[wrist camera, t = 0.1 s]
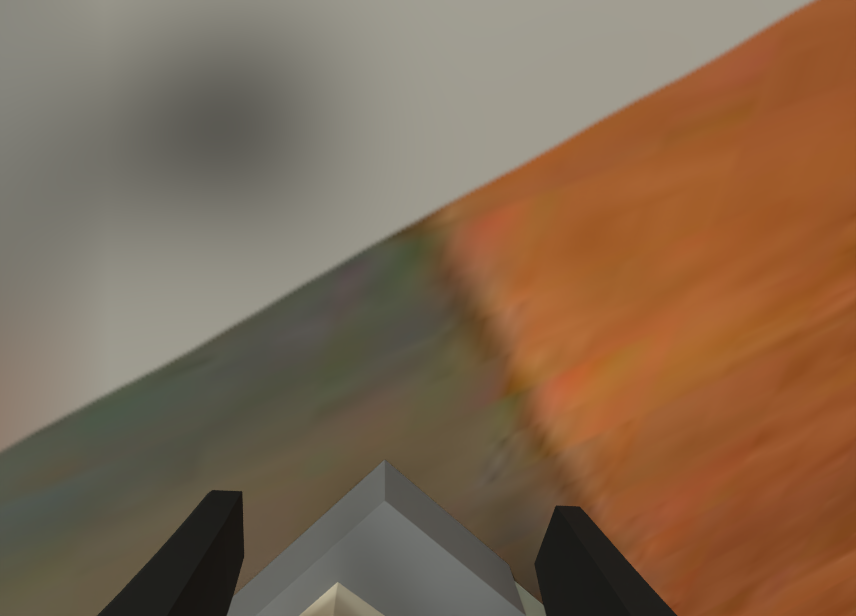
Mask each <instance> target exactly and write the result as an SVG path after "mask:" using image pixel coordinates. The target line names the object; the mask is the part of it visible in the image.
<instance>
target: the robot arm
mask: <svg viewBox="0 0 856 616" xmlns="http://www.w3.org/2000/svg"><path fill="white" fill-rule="evenodd" d="M243 559H244V534H243V500H242V491H220V490H212V491H211V492H209V493H208V494H207V495H206V496H205V497H204V499H203V500H202V501H201V502H200V503H199V505H198V506H197V507H196V508H195V509H194V511H193V512H192V513H191V514H190V515H189V517H188V518H187V519H186V520H185V521H184V522H183V524H182V525H181V526H180V527H179V528H178V529H177V530H176V532H175V533H174V534H173V535H172V536H171V537H170V538H169V540H168V541H167V542H166V543H165V544H164V545H163V546H162V547H161V549H160V550H159V551H158V552H157V553H156V554H155V555H154V556H153V557H152V558H151V560H150V561H149V562H148V563H147V564H146V565H145V566H144V567H143V568H142V569H141V570H140V571H139V572H138V573H137V575H136V576H135V577H134V578H133V579H132V580H131V581H130V582H129V583H128V584H127V585H126V586H125V587H124V589H123V590H122V591H121V592H120V593H119V594H118V595H117V596H116V597H115V598H114V599H113V600H112V601H111V602H110V603H109V604H108V605H107V606H106V607H105V608H104V609H103V610H102V611H101V612H100V613H99V614H98V615H97V616H227V614H228V611H229V608H230V604H231V601H232V597H233V594H234V591H235V587H236V584H237V580H238V577H239V573H240V569H241V566H242V562H243ZM535 568H536V573H537V578H538V583H539V587H540V592H541V596H542V600H543V605H544V609H545V613H546V616H677V615H676V614H675V613H674V612H673V611H672V609H671V608H670V607H669V606H668V605H667V604H666V603H665V602H664V601H663V600H662V599H661V598H660V597H659V595H658V594H657V593H656V592H655V591H654V590H653V589H652V588H651V587H650V586H649V584H648V583H647V582H646V581H645V580H644V579H643V578H642V577H641V576H640V574H639V573H638V572H637V571H636V570H635V569H634V568H633V567H632V565H631V564H630V563H629V562H628V561H627V560H626V559H625V557H624V556H623V555H622V554H621V553H620V552H619V551H618V549H617V548H616V547H615V546H614V545H613V544H612V543H611V541H610V540H609V539H608V538H607V537H606V536H605V535H604V533H603V532H602V531H601V530H600V529H599V528H598V527H597V525H596V524H595V523H594V522H593V521H592V520H591V519H590V517H589V516H588V515H587V514H586V513H585V512H584V511H583V510H582V509H581V507H576V506H556V507H555V509H554V512H553V515H552V518H551V520H550V523H549V526H548V528H547V531H546V534H545V537H544V539H543V542H542V545H541V547H540V550H539V553H538V555H537V558H536V561H535Z"/></svg>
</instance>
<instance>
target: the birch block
mask: <svg viewBox="0 0 856 616" xmlns="http://www.w3.org/2000/svg"><path fill="white" fill-rule="evenodd" d="M299 616H384V615H383V614H382V613H380V612H379V611H377V610H376V609H375V608H373V607H372V606H370V605H369V604H368V603H366V602H365V601H363V600H362V599H361V598H359V597H358V596H357V595H355V594H354V593H352V592H351V591H350V590H348V589H347V588H345V587H344V586H343V585H341V584H340V583H338V582H337V583H336V584H335V585H334V586H332V587H331V588H330V589H329V590H328V591H327V592H326V593H324V594H323V595H322V596H321V597H320V598H319V599H318V600H316V601H315V602H314V603H313V604H312V605H311V606H310V607H308V608H307V609H306V610H305V611H304V612H303V613H302V614H300V615H299Z"/></svg>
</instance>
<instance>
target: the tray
mask: <svg viewBox="0 0 856 616" xmlns="http://www.w3.org/2000/svg"><path fill="white" fill-rule="evenodd" d="M515 584H516V587H517V590H518V593H519V596H520V599H521V602H522V605H523V608H524V610H525V613H526V616H546V613H545V609H544V605H543V604H542V603H540V602H539V601H538V600H537V599H536V598H534V597H533V596H532V595H531V594H530V593H528V592H527V591H526V590H525V589H524V588H522V587H521V586H520V585H519V584H518V583H517V582H515Z"/></svg>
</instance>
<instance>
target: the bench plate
mask: <svg viewBox="0 0 856 616" xmlns="http://www.w3.org/2000/svg"><path fill="white" fill-rule="evenodd" d="M337 582H338V583H340V584H341V585H343V586H344V587H345V588H347V589H348V590H350V591H351V592H352V593H354V594H355V595H357V596H358V597H359V598H361V599H362V600H363V601H365V602H366V603H368V604H369V605H370V606H372V607H373V608H375V609H376V610H377V611H379V612H380V613H382V614H383V615H384V616H526V613H525V610H524V608H523V605H522V602H521V599H520V596H519V593H518V590H517V587H516V584H515V581H514V578H513V576H512V573H511V570H510V567H509V565H508V564H507V563H506V562H505V561H503V560H502V559H501V558H500V557H499V556H498V555H496V554H495V553H494V552H493V551H492V550H491V549H489V548H488V547H487V546H486V545H485V544H483V543H482V542H481V541H480V540H479V539H478V538H476V537H475V536H474V535H473V534H472V533H471V532H469V531H468V530H467V529H466V528H465V527H464V526H462V525H461V524H460V523H459V522H458V521H456V520H455V519H454V518H453V517H452V516H451V515H449V514H448V513H447V512H446V511H445V510H444V509H442V508H441V507H440V506H439V505H438V504H436V503H435V502H434V501H433V500H432V499H431V498H429V497H428V496H427V495H426V494H425V493H424V492H422V491H421V490H420V489H419V488H418V487H417V486H415V485H414V484H413V483H412V482H411V481H409V480H408V479H407V478H406V477H405V476H404V475H402V474H401V473H400V472H399V471H398V470H397V469H395V468H394V467H393V466H392V465H391V464H390V463H388V462H387V461H386V460H384V461H383V462H382V463H381V464H379V465H378V466H377V467H376V468H375V469H374V470H373V471H372V472H371V473H369V474H368V475H367V476H366V477H365V478H364V479H363V480H362V481H361V482H359V483H358V484H357V485H356V486H355V487H354V488H353V489H352V490H351V491H350V492H348V493H347V494H346V495H345V496H344V497H343V498H342V499H341V500H340V501H338V502H337V503H336V504H335V505H334V506H333V507H332V508H331V509H330V510H328V511H327V512H326V513H325V514H324V515H323V516H322V517H321V518H320V519H319V520H317V521H316V522H315V523H314V524H313V525H312V526H311V527H310V528H309V529H307V530H306V531H305V532H304V533H303V534H302V535H301V536H300V537H299V538H298V539H296V540H295V541H294V542H293V543H292V544H291V545H290V546H289V547H288V548H286V549H285V550H284V551H283V552H282V553H281V554H280V555H279V556H278V557H276V558H275V559H274V560H273V561H272V562H271V563H270V564H269V565H268V566H267V567H265V568H264V569H263V570H262V571H261V572H260V573H259V574H258V575H257V576H255V577H254V578H253V579H252V580H251V581H250V582H249V583H248V584H247V585H245V586H244V587H243V588H242V589H241V590H240V591H239V592H238V593H237V594H236V595H234V596H233V597H232V601H231V604H230V608H229V611H228V614H227V616H299V615H300V614H302V613H303V612H304V611H305V610H306V609H307V608H308V607H310V606H311V605H312V604H313V603H314V602H315V601H316V600H318V599H319V598H320V597H321V596H322V595H323V594H324V593H326V592H327V591H328V590H329V589H330V588H331V587H332V586H334V585H335V584H336V583H337Z"/></svg>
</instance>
